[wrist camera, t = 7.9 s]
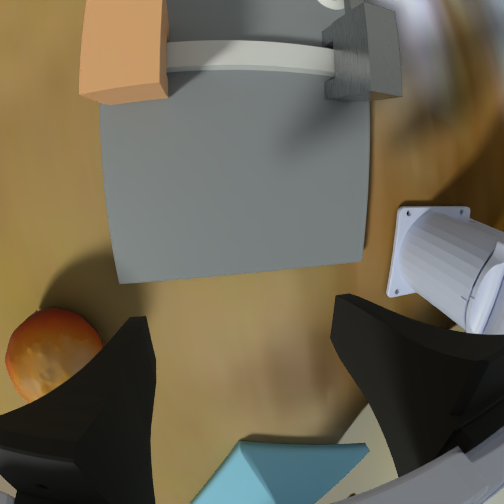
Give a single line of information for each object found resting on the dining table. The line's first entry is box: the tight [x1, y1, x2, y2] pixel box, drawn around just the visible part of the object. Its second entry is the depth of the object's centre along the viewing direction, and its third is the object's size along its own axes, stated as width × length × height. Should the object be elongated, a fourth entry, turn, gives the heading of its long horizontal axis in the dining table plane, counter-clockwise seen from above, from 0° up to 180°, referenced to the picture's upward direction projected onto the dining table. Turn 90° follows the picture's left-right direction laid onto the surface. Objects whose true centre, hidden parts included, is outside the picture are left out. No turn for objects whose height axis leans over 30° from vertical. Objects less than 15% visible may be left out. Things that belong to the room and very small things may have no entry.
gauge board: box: [100, 0, 370, 284], centre depth 17 cm, size 18×22×2 cm
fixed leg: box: [322, 0, 402, 103], centre depth 14 cm, size 2×9×6 cm, turn 0°
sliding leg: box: [79, 0, 169, 106], centre depth 11 cm, size 4×9×6 cm, turn 0°
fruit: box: [5, 307, 103, 403], centre depth 18 cm, size 8×8×8 cm
